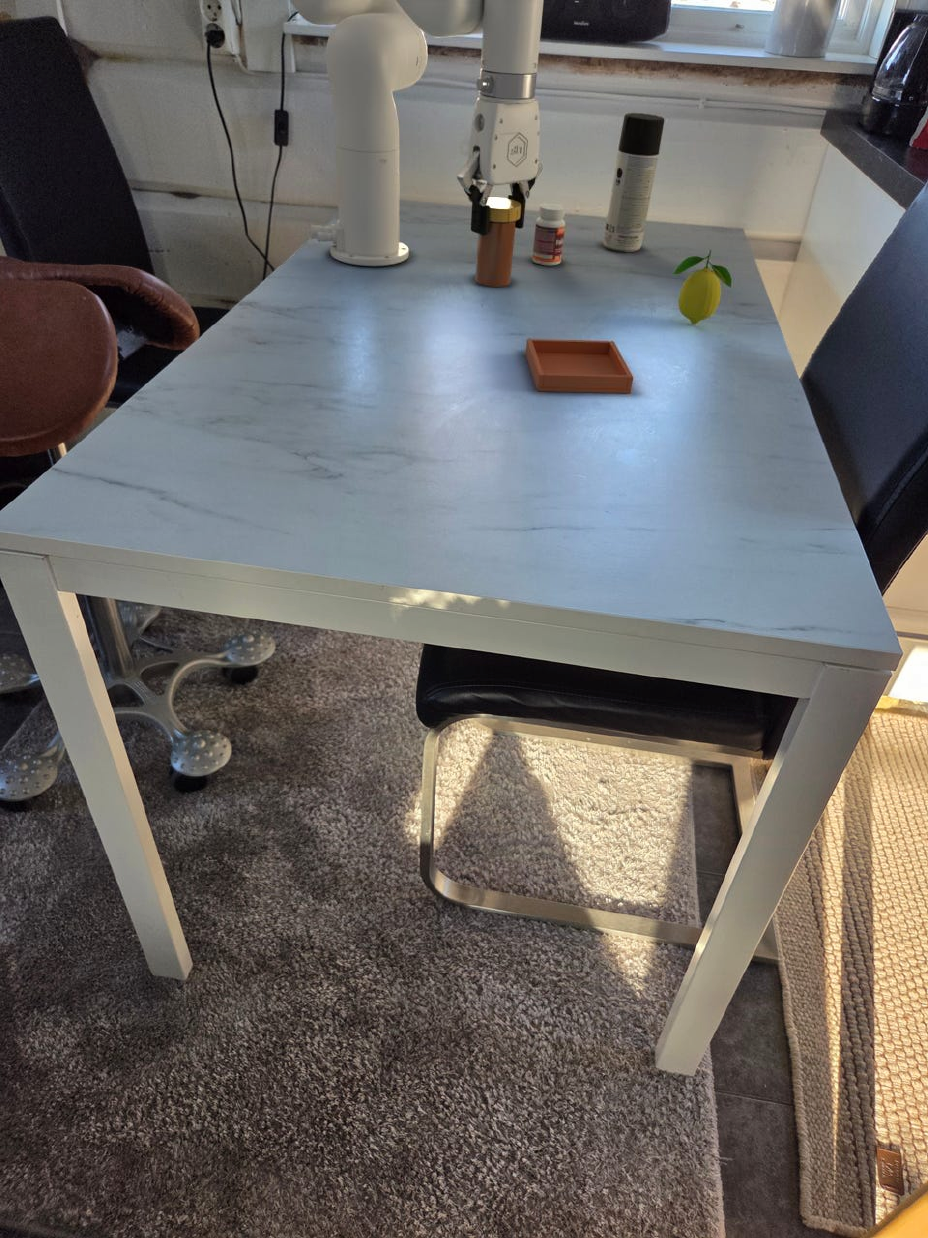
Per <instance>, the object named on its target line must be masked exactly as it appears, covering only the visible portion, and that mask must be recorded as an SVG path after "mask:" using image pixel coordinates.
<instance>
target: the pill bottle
mask: <svg viewBox="0 0 928 1238" xmlns="http://www.w3.org/2000/svg"><path fill="white" fill-rule="evenodd" d="M538 210H539V212H538V216H539V217H538V218H537V219H536V220H535V228H534V236H533V237H534V238H533V247H532V255H531V256H532V257H531V260H532V262H533V263H535V264H537V265H541V266H548V267H549V266H557V265H559V264H561V262H562V254H563V248H564V239H565V231H566V221H565V220H564V219H563V218H565V212H566V207H565V206H563V205H561V204H555V203H542V204H540V205H539V209H538Z"/></svg>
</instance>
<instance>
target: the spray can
mask: <svg viewBox="0 0 928 1238" xmlns="http://www.w3.org/2000/svg"><path fill="white" fill-rule="evenodd" d="M664 126H665V118H664V117H662V116H658V115H656V114H649V113H643V112H641V113H640V112H629V113H626V114H624V116H623V122H622V127H621V132H620V138H619V142H618V143H619V144H618V148H617V154H616V155H617V157H616V162H615V168H614V174H613V180H612V186H611V193H610V199H609V203H608V210H607V217H606V224H605V229H604V236H603V247H604V248H605V249H607V250H610V251H612V252H617V253H633V252H637V251H639V250H640V249H641V247H642V243H643V237H644V233H645V228H646V222H647V218H648V212H649V208H650V201H651V196H652V191H653V185H654V180H655V175H656V170H657V165H658V159H659V154H660V150H661V143H662V138H663V132H664Z"/></svg>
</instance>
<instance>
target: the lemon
mask: <svg viewBox="0 0 928 1238" xmlns="http://www.w3.org/2000/svg"><path fill="white" fill-rule="evenodd" d="M711 254H712V249H709V252H708V254H707V256H706V257H700V256H698V255H694V256H690V257H687V258H685V259H684V260H683V261H682V262H680V264H679V265H678V266H677V267H676V268H675V270H674V272H673V273H672V274H673V275H679V274H681V273H683V272H685V271H688V270H689V269H690V268H693V267H695V266H696V265H698V264H700V263H701V262H703V261H704V260H706V262H705V266H704V267H703V268H701V269H697V270H695V271H693V272H692V273H691V274H690V275H689V276H688V277H687V278H686V279H685V281H684V283H683V284H682V287H681V289H680V292H679V296H678V309H679V312H680V314H681V315H682V316H683V317H684V318H686V319H687V320H689V322H690V323H691V324H692V325H697V324H698V323H699V322H701V321H705V320H707V319H709V318H710V317H711V316H713V314H714V313H715V312H716V310H717V308H718V306H719V304H720V301H721V296H722V284H721V282H722V283H723V284H724V285H726V286H727V287H729V288H732V277H731V273H730V272H729V270H728V269H727V268H726V267H724V266H723V265H718V264H712V263H711V262H710V259H711ZM709 265H710V266H711V268H710V267H709ZM711 269H712V270H711Z"/></svg>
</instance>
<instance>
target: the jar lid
mask: <svg viewBox="0 0 928 1238" xmlns="http://www.w3.org/2000/svg"><path fill="white" fill-rule="evenodd" d="M486 205H489V206H490V217H489V221H493V222H512V221H516V220H518V219H519V218H520V216H521V204H520V203H519V202H518V201H515V200H512V199H508V197H507V198H506V197H494V196H492V197H490V196H489V199H488V202H487V204H486Z"/></svg>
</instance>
